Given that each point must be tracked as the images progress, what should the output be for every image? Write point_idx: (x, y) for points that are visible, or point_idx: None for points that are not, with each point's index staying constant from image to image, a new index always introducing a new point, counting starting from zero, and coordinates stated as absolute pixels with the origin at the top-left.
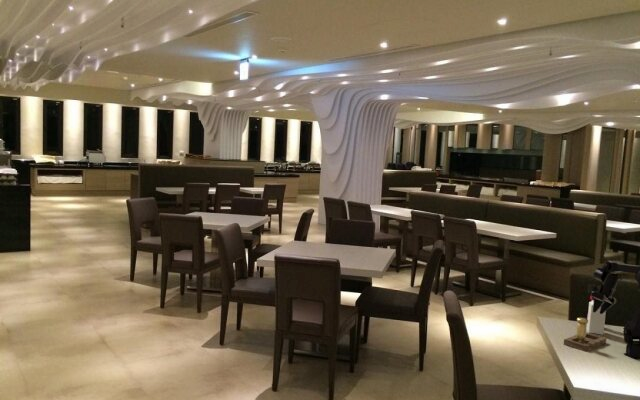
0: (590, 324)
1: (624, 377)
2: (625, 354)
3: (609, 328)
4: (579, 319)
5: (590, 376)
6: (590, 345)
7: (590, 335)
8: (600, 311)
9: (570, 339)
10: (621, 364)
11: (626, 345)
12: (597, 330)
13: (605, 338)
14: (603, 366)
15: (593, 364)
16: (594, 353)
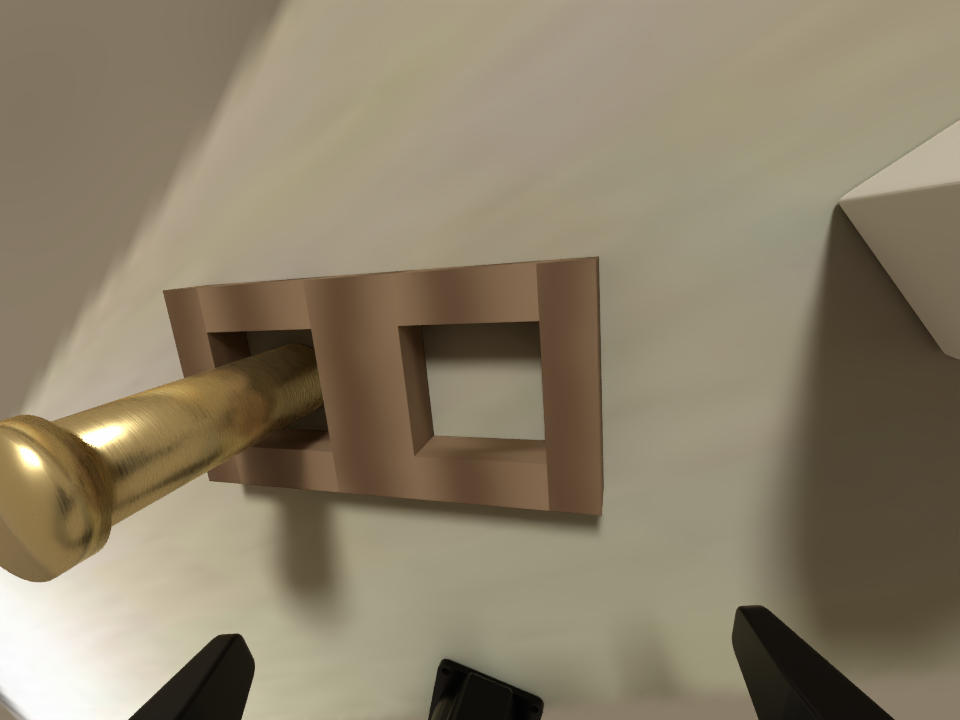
0: (916, 201)
1: (138, 704)
2: (437, 671)
3: None
4: None
5: (13, 598)
6: (274, 483)
7: (541, 362)
8: (766, 665)
9: (214, 322)
10: (264, 671)
11: None
12: (929, 296)
13: (583, 510)
14: (149, 609)
15: (121, 566)
16: (267, 512)
